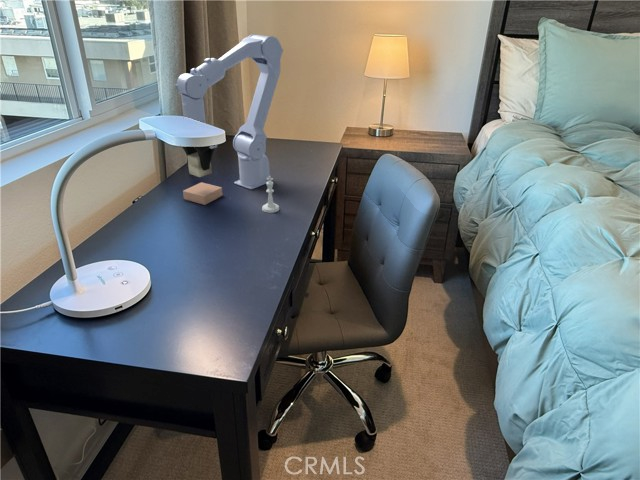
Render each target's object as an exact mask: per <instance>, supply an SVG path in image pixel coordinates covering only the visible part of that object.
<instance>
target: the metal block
mask: <svg viewBox="0 0 640 480" xmlns="http://www.w3.org/2000/svg"><path fill="white" fill-rule="evenodd" d="M186 157H187V167H188V172H189V174H190V175H193V176H194V177H198V178H202V177H204V176H207V175H210V174H212V173H213V172H212V161H211V162H210V169H208V170H205V171H204V170H202V167H201V162H200V158H199V155H198V153H193V154H190V155H186Z"/></svg>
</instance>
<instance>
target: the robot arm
mask: <svg viewBox="0 0 640 480" xmlns="http://www.w3.org/2000/svg"><path fill="white" fill-rule="evenodd" d="M283 50H284V49H283V47H282V45H281V42H280V40H279V39H278V38H277V37H276V36H273V35H270V36H268V35H262V34H261V35H260V34H258V33H257V34H256V33H252V34H250V35H248V36H246V37H244V38H243V39H241V42H239V43H238V44H236V45H235V46H234V47H232V48H231V49H230V50H229V51H227V52H226V53H225V54H223V55H222V56H220V57H219V58H218V59H217V58H215V57H211V58H210V57H206V58H204V59H203V61H204V63H201V64H200V65H199V66H197V67H193V68H191V69H190V73H188V72H187V73H186V72H185V73H182V74H180V75H179V76H178V78H177V80H176V84H174V86H175V90H176V92H178V94H179V95H180V100H181V106H182V107H181V108H182V116H183V118H184V117H188V118H192V119H194V120H197V121H200V122H203V123H206V124H207V121H206V114H205V113H206V112H205V102H204V101H205V100H204V96H206V93H207V90H208V89H209V88H210V87H212V86H214V85H215V84H216V83H218V82H219V81H221V80H223V79H224V77H225V76H226V71H227V70H229V69H231V68H232V67H234V66H236V65H237V64H239V63H241V62H243V61H245V60H246V59H249V58H251V59H252V60H253V62H254V63H255V64H256V65H257V67H258V70H259V71H260V73H259V74H260V75H259V76H258V80H257V84H256V87H255V90H254V94H253V98H252V101H251V105H250V108H249V111H248V115H247V118H246V121H245V123H244V124H242V125H241V126H240V127H239V129H238V131H237V133H236V135H235V136H234V137H233V140H232V147H233V149H234V151H236V153H237V156H238V157H237V159H238V171H239V179H238V180H236V181H234V182H233V183H234V184H235V185H237V186H241V187H242V188H246V189H249V190H254V189H256V188H259V187H261V186H264V185H266V183H267V182H269V180H267V178H269V176H271V174H270V173H271V172H270V162H269V158H268V156H267V155H266V154H265V153H266V151H267V145H266V143H267V138H268V137H267V134H266V132H265V130H264V128H265V124H266V121H267V118H268V114H269V112H270V108H271V104H272V101H273V98H274V94H275V91H276V89H277V84H278V81H279V78H280V74H281V58H282V54H283V52H284V51H283ZM181 148H182V149H183V151H184V152H185V154H186V156H187V155H190V154H193V153H198V155H199V158H200V162H201V167H202V170H204V171H205V170H208V169H210V162H211V163H212V156H213V154H214V151H215V150H216V149H217V148H218V144H217V145H215V146H210V147H195V148H194V147H181ZM271 182H273V180H271Z"/></svg>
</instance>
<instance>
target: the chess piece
mask: <svg viewBox="0 0 640 480" xmlns="http://www.w3.org/2000/svg"><path fill="white" fill-rule="evenodd" d="M267 180H269V182H267V183H266V184H265V185H266V186H267V189H266V191H265V192H266V193H268V195H267V202H266V204H265V203H264V204H263V205H262V206H261V207H262V208H261V210H262V212H264V213H267V214H273V213H277V212H279V211H280V206H279V205H278V204H277V203H275V202H274V198H273V193H274V192H275V190H274V189H273V187H274V182H273V180H274V178H273V177H271V175H270V176H269V178H267ZM271 180H272V181H271Z"/></svg>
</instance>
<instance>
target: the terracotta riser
mask: <svg viewBox="0 0 640 480" xmlns="http://www.w3.org/2000/svg"><path fill="white" fill-rule="evenodd" d="M182 193H183V194H182V195H183V199H184V200H185V201H189V202H193V203H197V204H201V205H204V206H206V205H207V204H209V203H211V202H213V201H215V200H217V199H219V198H221V197H223V187H222V186H217V185H213V184H211V183H205V182H202V181H201V182H199V183H197V184H195V185H192V186H191V187H187V188H186V189H183V190H182Z"/></svg>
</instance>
